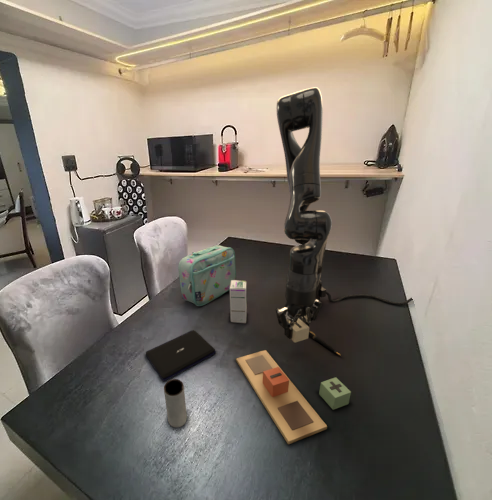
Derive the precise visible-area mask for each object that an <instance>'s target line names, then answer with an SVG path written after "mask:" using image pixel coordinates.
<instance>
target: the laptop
mask: <svg viewBox="0 0 492 500" xmlns="http://www.w3.org/2000/svg"><path fill="white" fill-rule="evenodd" d="M216 353H217V352H216V349H215V348H214V347H213V346H212V345H211V344H210V343H209V342H208V341H207V340H206V339H205V338H204V337H202V335H200V334H199V333H198V332H197V331H196V330H194V329H193V330H189V331H187V332H185V333H183V334H181V335H179V336H177V337H174V338H172V339H170V340H168V341H166V342H163V343H161V344H159V345H157V346H155V347H153V348H151V349H149V350H146V352H145V356H146V358H147V359H148V361H149V363H150V364H151V365H152V367H153V369H154V370H155V371H156V372H157V374H158V375H159V377H160V378H161V380H162V381H163V382H165V381H166V382H167V381H168V380H170V379H171V378H174V377H175V376H177V375H179V374H180V373H182V372H184V371H186V370H188V369H190V368H191V367H194V366H195V365H197V364H199V363H200V362H203V361H204V360H206V359H208V358H210V357H212V356H213V355H215V354H216Z"/></svg>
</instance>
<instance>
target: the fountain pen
mask: <svg viewBox="0 0 492 500" xmlns="http://www.w3.org/2000/svg"><path fill="white" fill-rule="evenodd" d="M308 337H310V338H312V339H313V340H315V341H317V342H318V344H321V345H322V346H324V347H325V348H327V349H328V350H329V351H331V352H333V353H334V354H337V355H338V356H341V353H339V351H337V350H336V349H335V348H333V347H332V346H331V345H329V344H328V343H326V342H325V341H324V340H322V339H321V338H320V337H318V336H317V335H316V334H315V333H314V332H313V331H311V330H309V336H308Z"/></svg>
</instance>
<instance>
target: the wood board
mask: <svg viewBox="0 0 492 500" xmlns="http://www.w3.org/2000/svg"><path fill="white" fill-rule="evenodd" d="M235 362H236V363H237V366H238V367H239V368H240V369H241V372H242V373H243V375H244V376H245V378H246V379H247V381H248V382H249V384H250V386H251V387H252V390H254V392H255V394H256V395H257V397H258V399H259V400H260V403H262V405H263V407H264V408H265V410H266V412H267V413H268V415H269V417H270V418H271V419H272V421H273V422H274V424H275V426H276V427H277V429H278V430H279V433H280V434H281V435H282V437H283V439H284V441H285V442H286V444H287V445H290V444H293V443H296V442H299V441H301V440H303V439H305V438H308V437H311V436H314V435H315V434H318V433H320V432H323V431H326V430H327V429H328V426H327V424H326V423H325V422H324V420H323V419H322V418H321V417H320V415H319V414H318V413H317V411H316V410H315V409H314V408H313V407H312V405H311V404H310V403H309V402H308V401H307V399H306V398H305V397H304V396H303V394H302V393H301V392H300V391H299V389H298V388H297V387H296V385H295V384H294V383H293V381H291V379H290V378H289V377H288V376H287V374H286V373H285V372H284V371H283V369H282V368H281V367H280V366H279V364H278V363H277V362H276V361H275V360H274V358H273V357H272V356H271V354H270V353H269V352H268V351H267V350H266V349H264V350H260V351H257V352H254V353H250V354H247V355H244V356H243V355H242V356H239V357H236V358H235ZM276 367H279V368H280V369H281V371H282V372H283V373H284V374H285V376H286V377H287V378H288V379H289V388H288V392H286V393H283V394H280V395H277V396H275V397H272V396H271V395H270V393H269V392H268V390H267V389H266V387H265V386H264V384H263V371H266V370H270V369H273V368H276Z"/></svg>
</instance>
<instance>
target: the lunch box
mask: <svg viewBox="0 0 492 500" xmlns="http://www.w3.org/2000/svg"><path fill="white" fill-rule="evenodd" d="M177 267H178V268H177V269H178V278H179V285H180V293H181V297H182V299H183V300H185V301H187V302H190V303H193V304H194V305H195V306H197V307H202V306H205V305H206V304H209V303H210V302H212V301H214V300H216V299H218V298H219V297H221V296H222V295H224V294H225V293H227V292H230V283H231V280H237V268H236V253H235V250H234V249H233V248H232V247H229V246H228V247H227V246H223V245H220V244H218V245H217V244H216V245H213V246H209V247H206V248H204V249H201V250H198V251H195V252H192V253H190V254H188V255H186V256H184V257H182V258H181V259H180V260H179V263H178V266H177Z"/></svg>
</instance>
